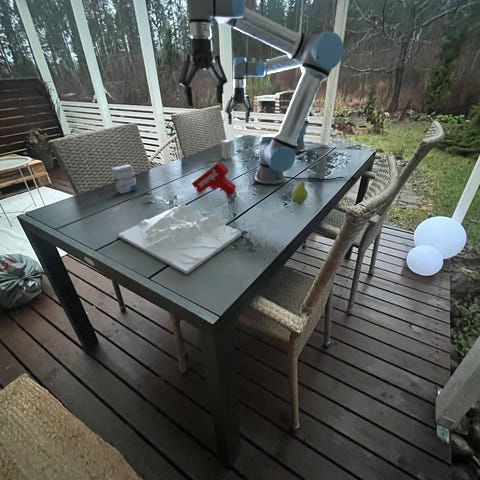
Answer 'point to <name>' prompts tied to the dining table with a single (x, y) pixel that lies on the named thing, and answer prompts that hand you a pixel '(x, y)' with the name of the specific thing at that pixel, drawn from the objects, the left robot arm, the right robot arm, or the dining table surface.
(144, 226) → the relief map
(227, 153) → the box
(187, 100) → the left robot arm
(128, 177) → the ink box
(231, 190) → the toy gun
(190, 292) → the dining table surface
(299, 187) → the fruit
